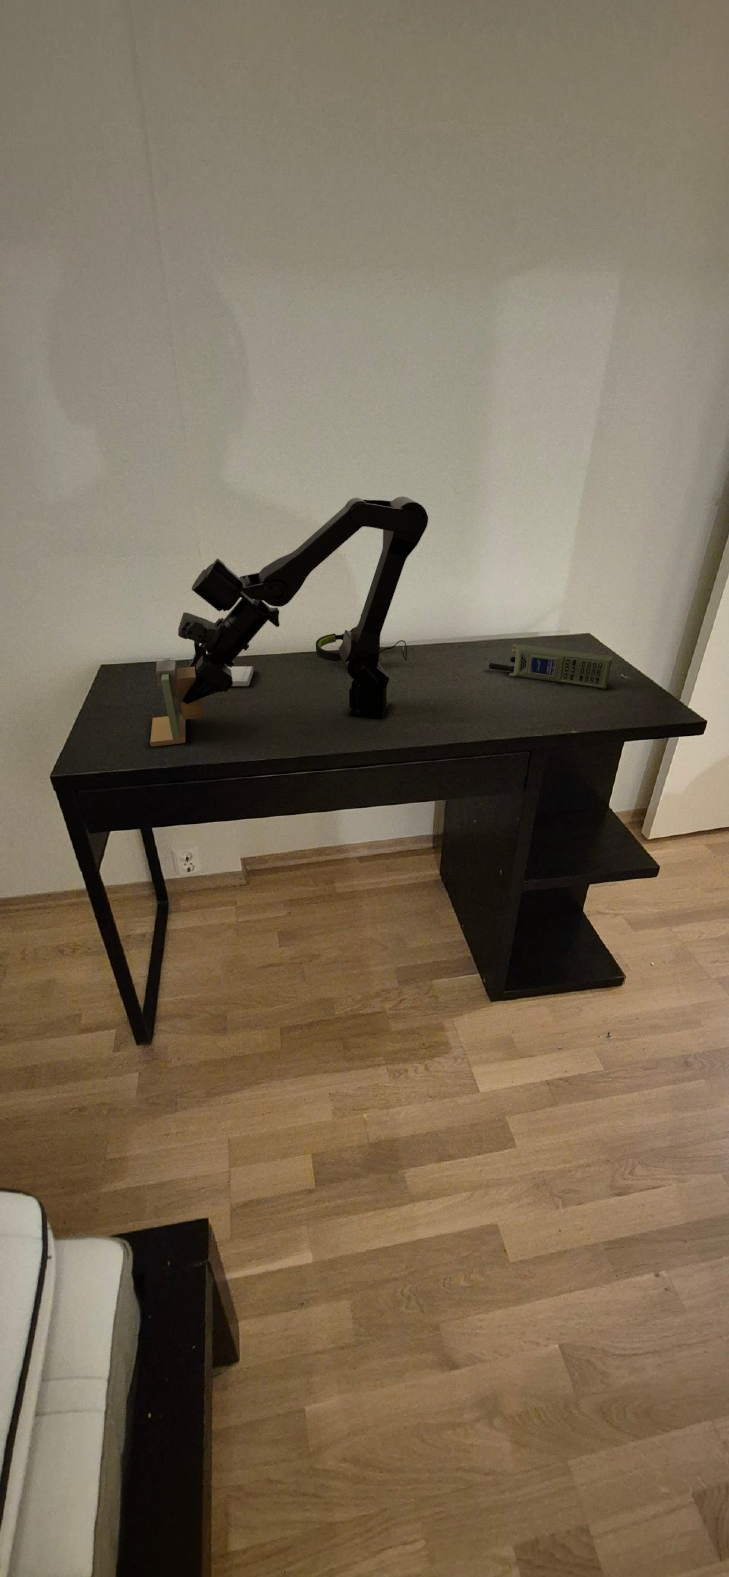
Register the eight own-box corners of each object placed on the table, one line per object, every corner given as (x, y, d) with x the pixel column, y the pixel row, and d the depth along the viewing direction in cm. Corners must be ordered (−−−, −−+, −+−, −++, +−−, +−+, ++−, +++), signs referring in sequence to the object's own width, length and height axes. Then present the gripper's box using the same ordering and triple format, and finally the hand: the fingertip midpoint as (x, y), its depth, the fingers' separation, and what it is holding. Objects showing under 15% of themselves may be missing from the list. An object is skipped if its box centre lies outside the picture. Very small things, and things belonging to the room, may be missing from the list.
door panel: (185, 719, 127) (174, 657, 121) (185, 743, 119) (173, 678, 112) (153, 722, 126) (141, 660, 120) (151, 746, 118) (137, 682, 111)
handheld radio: (605, 690, 136) (486, 674, 144) (607, 685, 139) (490, 669, 147) (612, 659, 133) (489, 644, 141) (613, 654, 135) (493, 639, 143)
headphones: (408, 629, 141) (315, 633, 139) (407, 671, 146) (317, 675, 145) (399, 607, 154) (313, 610, 153) (398, 646, 159) (315, 649, 158)
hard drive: (188, 680, 139) (247, 679, 139) (196, 666, 146) (252, 665, 146) (190, 688, 140) (248, 687, 140) (198, 673, 147) (253, 672, 147)
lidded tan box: (202, 706, 124) (195, 657, 119) (203, 717, 120) (195, 668, 115) (165, 709, 123) (157, 661, 118) (165, 721, 119) (155, 671, 114)
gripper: (200, 583, 119) (148, 646, 123) (202, 614, 104) (143, 686, 107) (249, 622, 125) (197, 681, 129) (257, 657, 109) (199, 724, 113)
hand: (184, 691), depth 119 cm, fingers open, 9 cm apart
